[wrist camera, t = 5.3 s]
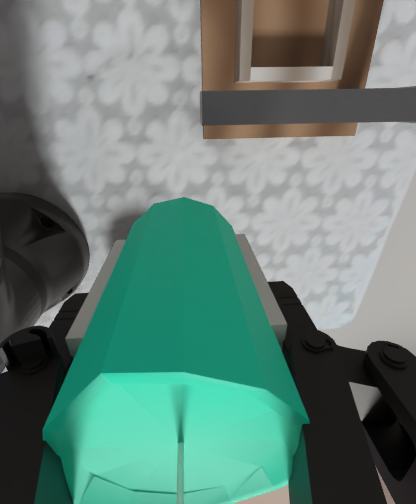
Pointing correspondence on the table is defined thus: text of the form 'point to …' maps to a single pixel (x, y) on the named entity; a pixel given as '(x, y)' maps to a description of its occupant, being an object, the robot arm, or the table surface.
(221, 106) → the bar
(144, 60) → the table surface
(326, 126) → the board
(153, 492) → the candle
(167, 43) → the table surface
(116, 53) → the table surface
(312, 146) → the table surface
